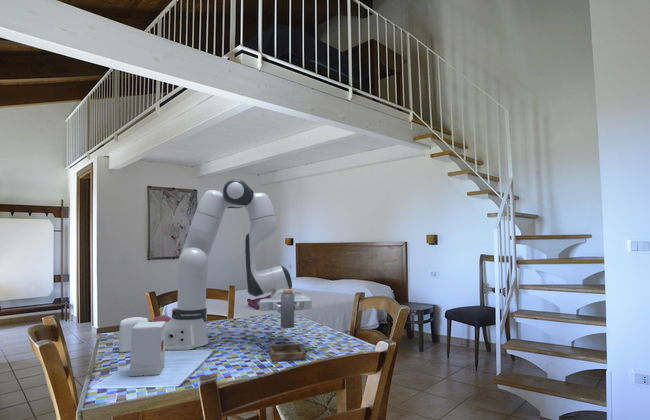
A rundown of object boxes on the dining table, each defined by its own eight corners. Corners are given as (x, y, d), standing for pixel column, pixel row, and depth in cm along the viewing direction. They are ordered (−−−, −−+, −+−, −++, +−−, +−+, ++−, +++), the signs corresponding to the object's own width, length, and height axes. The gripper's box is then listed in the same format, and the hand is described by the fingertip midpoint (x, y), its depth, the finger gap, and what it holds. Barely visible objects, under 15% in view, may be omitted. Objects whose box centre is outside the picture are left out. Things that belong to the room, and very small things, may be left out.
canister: (281, 328, 145) (281, 290, 145) (279, 325, 149) (280, 288, 150) (295, 327, 146) (295, 290, 147) (293, 324, 151) (293, 288, 151)
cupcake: (167, 333, 179) (168, 306, 180) (148, 333, 179) (149, 306, 180) (174, 329, 187) (175, 303, 188) (156, 328, 187) (157, 302, 188)
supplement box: (159, 375, 125) (161, 326, 126) (128, 377, 123) (130, 327, 124) (165, 366, 134) (166, 320, 135) (136, 367, 132) (138, 321, 133)
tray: (271, 361, 140) (272, 354, 140) (268, 352, 151) (269, 345, 151) (305, 359, 142) (305, 352, 142) (300, 350, 154) (300, 343, 154)
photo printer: (117, 353, 148) (119, 319, 149) (119, 350, 152) (120, 317, 153) (148, 350, 152) (149, 317, 153) (148, 347, 156) (149, 315, 157)
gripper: (257, 294, 159) (259, 299, 145) (308, 293, 163) (314, 298, 150) (257, 310, 158) (259, 317, 145) (307, 308, 163) (314, 315, 149)
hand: (287, 307), depth 147 cm, fingers closed on canister, 5 cm apart
